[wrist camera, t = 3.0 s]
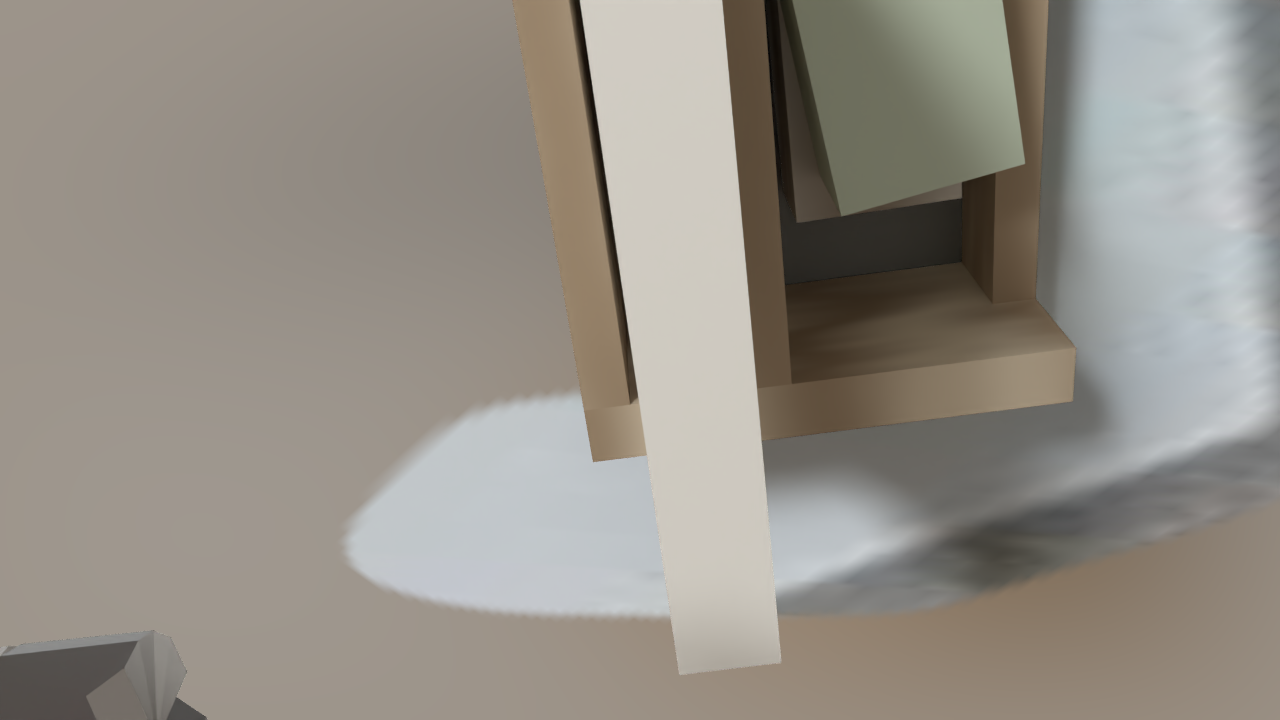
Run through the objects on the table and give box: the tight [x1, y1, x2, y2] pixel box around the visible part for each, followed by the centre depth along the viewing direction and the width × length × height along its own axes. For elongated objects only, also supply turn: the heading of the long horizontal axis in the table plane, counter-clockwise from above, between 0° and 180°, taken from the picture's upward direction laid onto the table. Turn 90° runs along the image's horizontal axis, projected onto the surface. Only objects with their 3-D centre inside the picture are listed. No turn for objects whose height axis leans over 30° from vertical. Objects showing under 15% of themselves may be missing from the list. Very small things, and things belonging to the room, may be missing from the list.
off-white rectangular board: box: [580, 0, 781, 675], centre depth 22 cm, size 2×14×18 cm, turn 7°
